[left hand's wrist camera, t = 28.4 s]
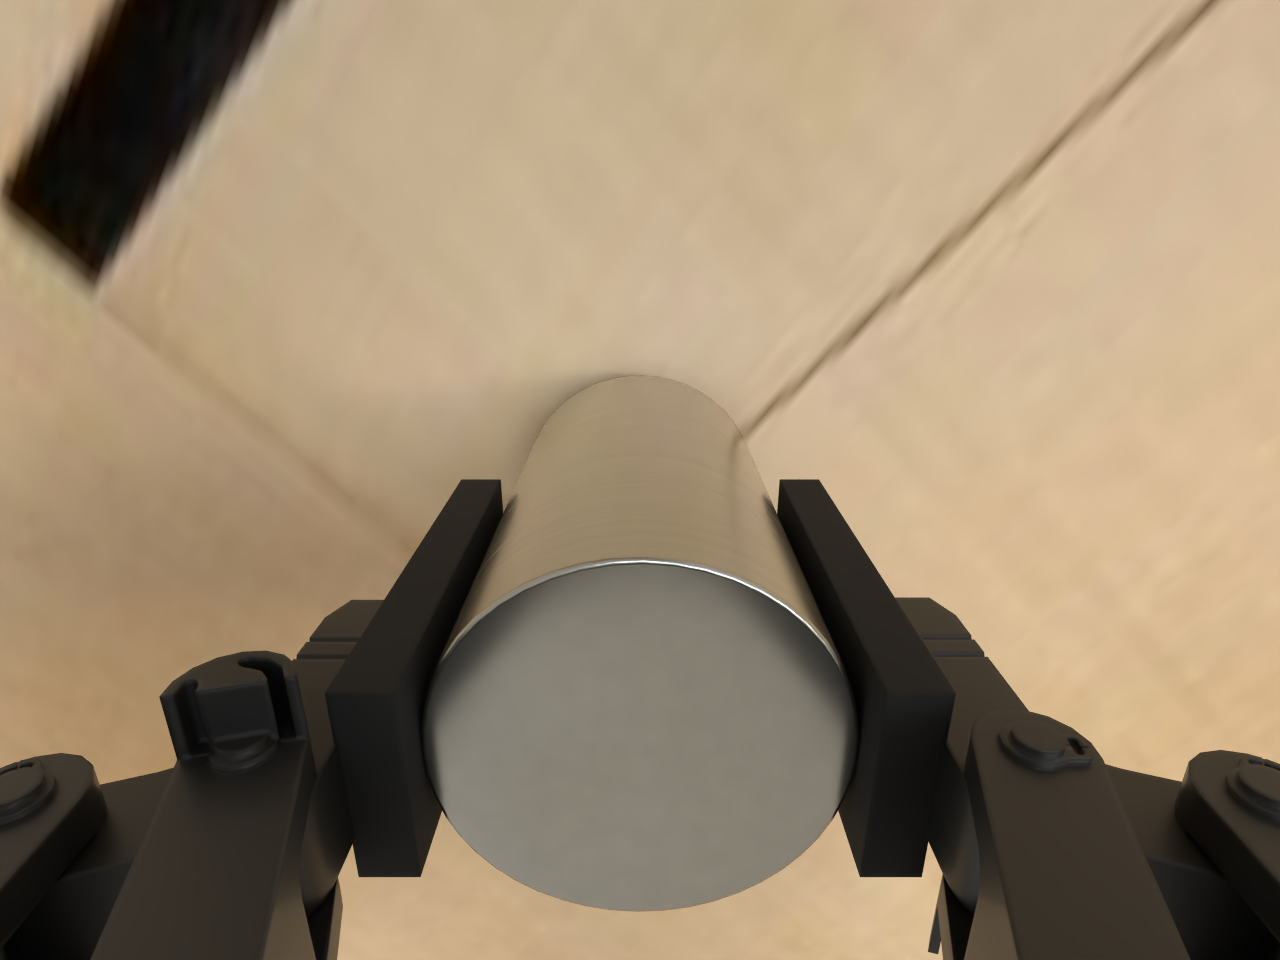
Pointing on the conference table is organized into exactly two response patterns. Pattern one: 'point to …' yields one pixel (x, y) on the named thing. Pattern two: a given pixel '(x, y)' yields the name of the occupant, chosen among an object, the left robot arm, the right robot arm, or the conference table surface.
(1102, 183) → the conference table surface
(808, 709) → the tin
